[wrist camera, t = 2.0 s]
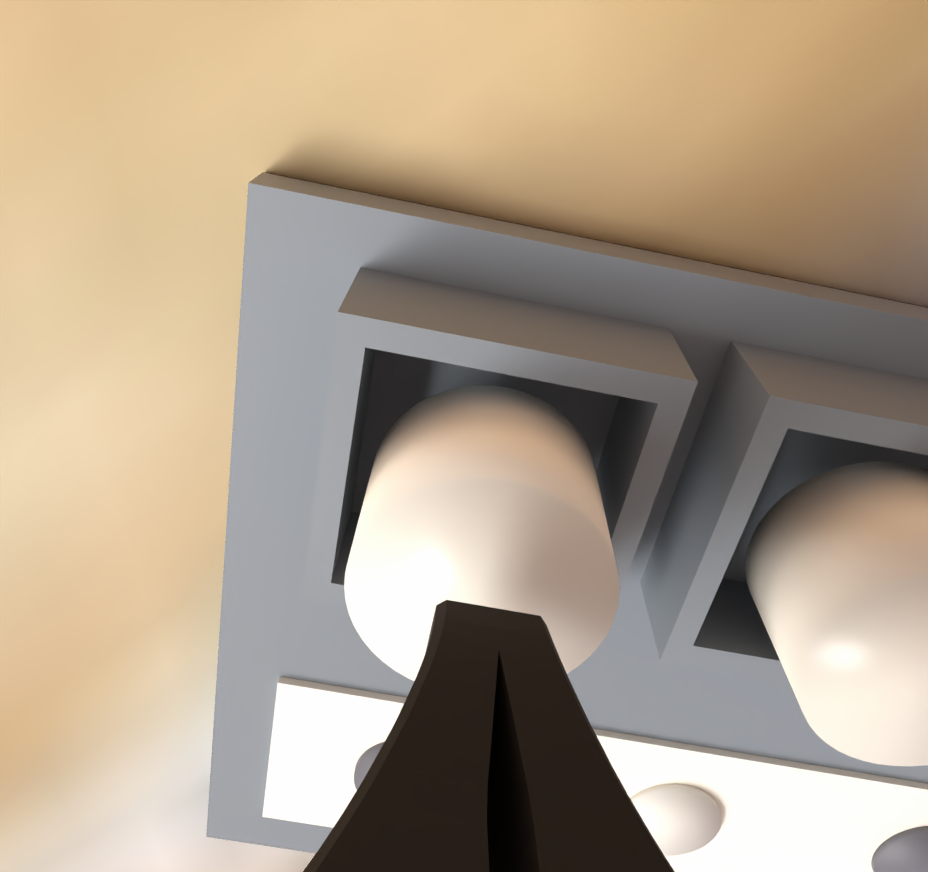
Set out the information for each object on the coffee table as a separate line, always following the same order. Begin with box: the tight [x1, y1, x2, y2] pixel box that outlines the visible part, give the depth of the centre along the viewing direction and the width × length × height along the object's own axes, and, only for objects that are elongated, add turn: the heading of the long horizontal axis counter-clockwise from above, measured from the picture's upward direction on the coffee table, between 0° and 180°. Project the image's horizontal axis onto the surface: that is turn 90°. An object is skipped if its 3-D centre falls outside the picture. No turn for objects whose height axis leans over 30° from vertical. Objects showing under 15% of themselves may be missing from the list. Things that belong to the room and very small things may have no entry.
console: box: [207, 172, 928, 872], centre depth 18 cm, size 18×24×3 cm
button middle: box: [745, 461, 928, 766], centre depth 13 cm, size 4×4×3 cm
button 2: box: [344, 386, 620, 681], centre depth 13 cm, size 4×4×3 cm
